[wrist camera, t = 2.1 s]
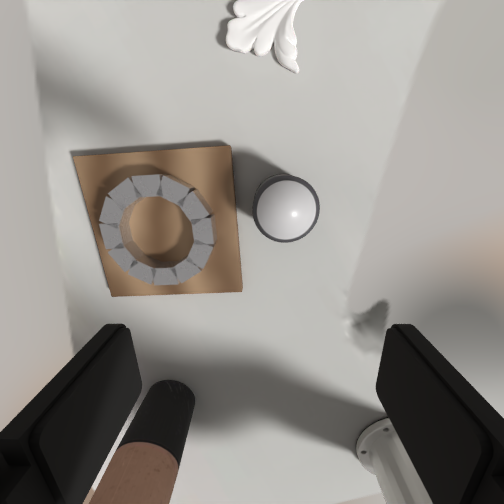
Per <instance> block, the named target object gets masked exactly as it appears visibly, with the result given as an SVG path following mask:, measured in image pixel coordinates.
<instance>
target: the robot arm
mask: <svg viewBox="0 0 504 504" xmlns="http://www.w3.org/2000/svg"><path fill="white" fill-rule="evenodd" d="M141 389H142V381H141V377H140V372H139V368H138V363H137V359H136V354H135V350H134V346H133V341H132V337H131V332H130V329H129V328H126V326H125V325H124V324H106V325H105V326H103V327H102V328H101V329H100V330H99V331H98V332H97V333H96V335H95V336H94V337H93V338H92V339H91V340H90V341H89V342H88V343H87V344H86V345H85V346H84V347H83V348H82V349H81V350H80V351H79V352H78V353H77V354H76V355H75V356H74V357H73V358H72V359H71V360H70V361H69V362H68V363H67V364H66V365H65V366H64V367H63V368H62V370H60V372H59V373H58V374H57V375H56V376H55V377H54V378H53V379H52V380H51V381H50V382H49V383H48V384H47V385H46V386H45V387H44V388H43V389H42V390H41V391H40V392H39V393H38V394H37V395H36V396H35V397H34V398H33V399H32V400H31V401H30V402H29V403H28V404H27V405H26V406H25V408H24V409H23V410H22V411H21V412H20V413H19V414H18V415H17V416H16V417H15V418H14V419H13V420H12V421H11V422H10V423H9V424H8V425H7V426H6V427H5V428H4V429H3V430H2V431H1V432H0V504H83V502H84V500H85V498H86V496H87V494H88V492H89V490H90V488H91V486H92V485H93V483H94V481H95V479H96V477H97V475H98V473H99V471H100V469H101V467H102V465H103V464H104V462H105V460H106V458H107V456H108V454H109V452H110V450H111V448H112V446H113V445H114V443H115V441H116V439H117V437H118V435H119V433H120V431H121V429H122V427H123V425H124V424H125V422H126V420H127V418H128V416H129V414H130V412H131V410H132V408H133V406H134V404H135V403H136V401H137V399H138V397H139V395H140V393H141ZM376 392H377V395H378V398H379V400H380V402H381V404H382V405H383V407H384V409H385V411H386V413H387V415H388V417H389V418H386V419H382V420H380V421H378V422H376V423H374V424H372V425H371V426H369V427H368V428H367V429H366V430H364V431H363V433H362V434H361V435H360V437H359V439H358V441H357V445H356V451H357V455H358V458H359V461H360V463H361V464H362V466H363V467H364V468H365V469H366V470H368V471H369V472H371V473H372V474H375V475H376V477H377V480H378V483H379V485H380V488H381V491H382V493H383V496H384V499H385V501H386V504H504V418H503V417H502V416H501V415H500V414H499V413H498V412H497V411H496V410H495V409H494V408H493V407H492V406H491V405H490V404H489V403H488V402H487V401H486V400H485V399H484V398H483V397H482V396H481V395H480V394H479V393H478V392H477V391H476V389H475V388H474V387H473V386H471V384H470V383H469V382H468V381H467V380H466V379H465V378H464V377H463V376H462V375H461V374H460V373H459V372H458V371H457V370H456V369H455V368H454V367H453V366H452V365H451V364H450V363H449V362H448V361H447V360H446V358H444V356H443V355H442V354H441V353H440V352H439V351H438V350H437V349H436V348H435V347H434V346H433V345H432V344H431V343H430V342H429V341H428V340H427V339H426V338H425V337H424V336H423V335H422V334H421V333H420V332H419V331H418V330H417V329H416V328H415V326H413V325H411V324H394V325H392V327H391V328H389V329H387V331H386V336H385V341H384V346H383V351H382V356H381V361H380V366H379V372H378V377H377V382H376Z"/></svg>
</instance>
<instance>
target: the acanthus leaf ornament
mask: <svg viewBox="0 0 504 504" xmlns="http://www.w3.org/2000/svg"><path fill="white" fill-rule="evenodd" d="M302 1H303V0H237V1H236V2H235V3H234V5H233V10H234V13H235V15H236V16H237V17H238V18H234V19H232V20H230V21H229V22H228V25H227V29H228V32H227V35H226V44H227V46H228V47H229V48H230V49H231V50H234V51H236V52H241V53H247V52H249V51H250V50H251V49H252V48H253V49H254V52H255V54H256V55H257V56H259V57H261V56H264V55H265V54H267V53H268V52H269V51H270V49H271V47H272V45H273V44H274V48H275V53H276V57H277V59H278V61H279V63H280V64H281V65H282V66H284V67H285V68H287V69H289V70H291V71H292V72H294V73H299V67H298V64H297V62H296V61H295V59H296V57H297V48H296V43H297V38H296V35H295V32H294V29H293V20H294V16H295V13H296V10H297V8H298V6H299V4H300V3H301V2H302Z"/></svg>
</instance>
